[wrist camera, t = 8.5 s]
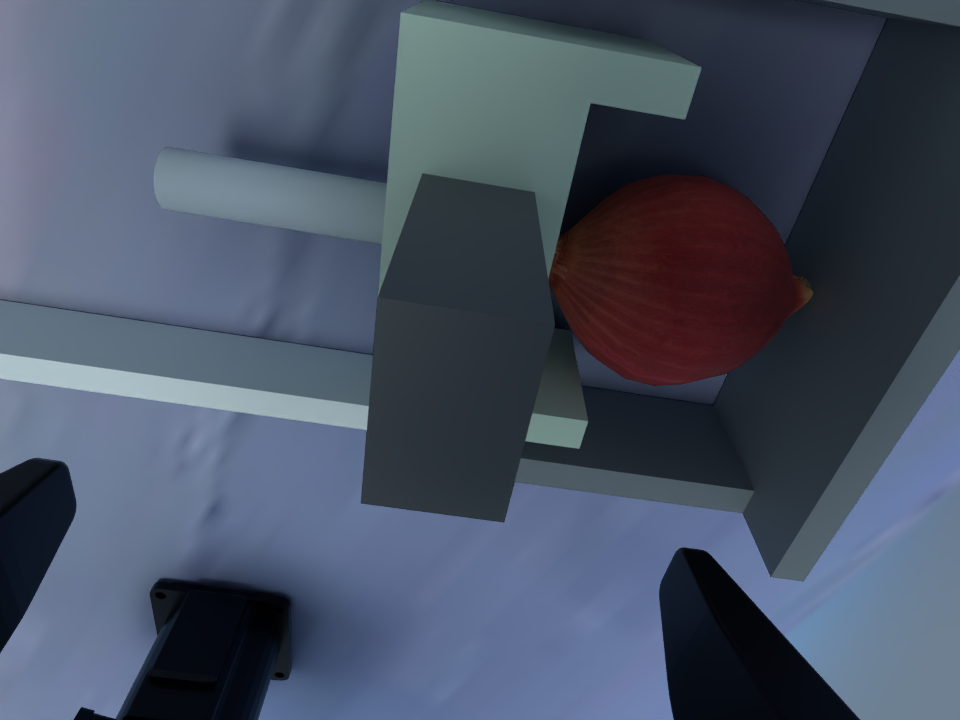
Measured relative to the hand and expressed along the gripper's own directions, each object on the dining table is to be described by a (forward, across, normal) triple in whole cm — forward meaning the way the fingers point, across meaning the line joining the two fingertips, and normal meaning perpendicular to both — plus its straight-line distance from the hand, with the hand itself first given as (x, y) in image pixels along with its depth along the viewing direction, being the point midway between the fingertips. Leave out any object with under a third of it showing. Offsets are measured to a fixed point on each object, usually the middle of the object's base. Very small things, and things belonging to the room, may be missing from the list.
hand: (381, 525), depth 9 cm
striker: (+13, +1, -1) cm, 13 cm away
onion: (+9, -3, -1) cm, 10 cm away
